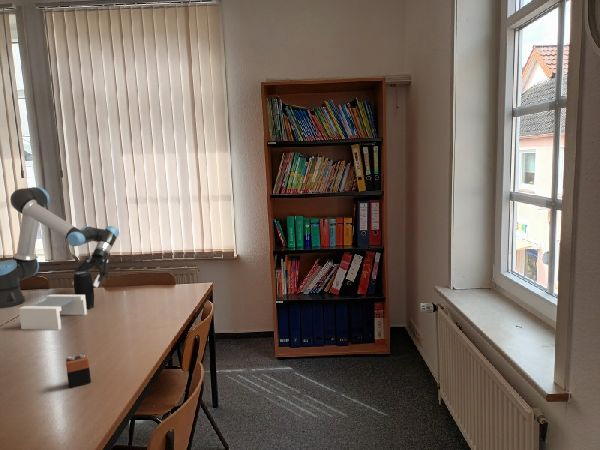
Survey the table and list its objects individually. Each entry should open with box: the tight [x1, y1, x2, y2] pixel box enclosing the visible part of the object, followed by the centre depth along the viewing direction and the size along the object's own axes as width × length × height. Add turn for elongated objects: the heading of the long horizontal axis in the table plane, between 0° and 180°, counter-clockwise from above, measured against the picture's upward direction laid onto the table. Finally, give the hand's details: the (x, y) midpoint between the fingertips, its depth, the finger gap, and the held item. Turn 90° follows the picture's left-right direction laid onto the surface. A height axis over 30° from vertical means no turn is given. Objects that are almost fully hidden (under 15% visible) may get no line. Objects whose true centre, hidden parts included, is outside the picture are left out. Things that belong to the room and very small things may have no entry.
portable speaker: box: [73, 269, 95, 310], centre depth 243 cm, size 9×9×20 cm
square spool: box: [18, 293, 88, 331], centre depth 224 cm, size 22×19×10 cm
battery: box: [65, 353, 92, 389], centre depth 159 cm, size 4×7×10 cm, turn 120°
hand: (84, 285), depth 242 cm, fingers open, 13 cm apart
